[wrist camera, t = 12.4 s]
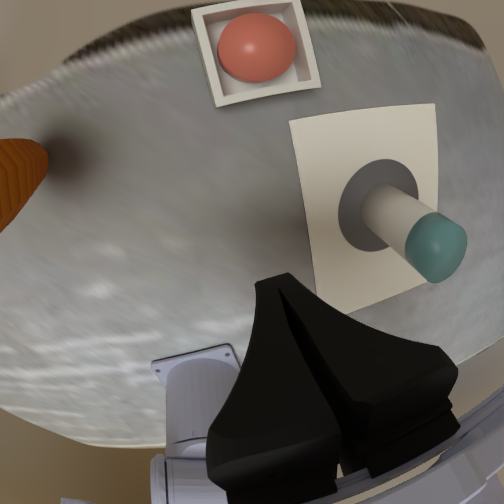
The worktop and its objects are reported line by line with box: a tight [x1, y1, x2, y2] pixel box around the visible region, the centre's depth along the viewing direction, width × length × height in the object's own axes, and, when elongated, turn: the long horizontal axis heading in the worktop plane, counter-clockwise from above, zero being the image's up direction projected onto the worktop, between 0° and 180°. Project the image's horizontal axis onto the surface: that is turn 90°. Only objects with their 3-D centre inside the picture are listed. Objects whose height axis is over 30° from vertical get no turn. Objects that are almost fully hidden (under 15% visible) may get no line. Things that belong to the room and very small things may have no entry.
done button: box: [217, 13, 296, 83], centre depth 14 cm, size 4×4×2 cm
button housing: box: [191, 0, 321, 107], centre depth 14 cm, size 6×6×3 cm
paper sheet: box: [289, 103, 438, 314], centre depth 23 cm, size 18×13×1 cm
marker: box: [361, 184, 467, 283], centre depth 19 cm, size 4×4×8 cm
